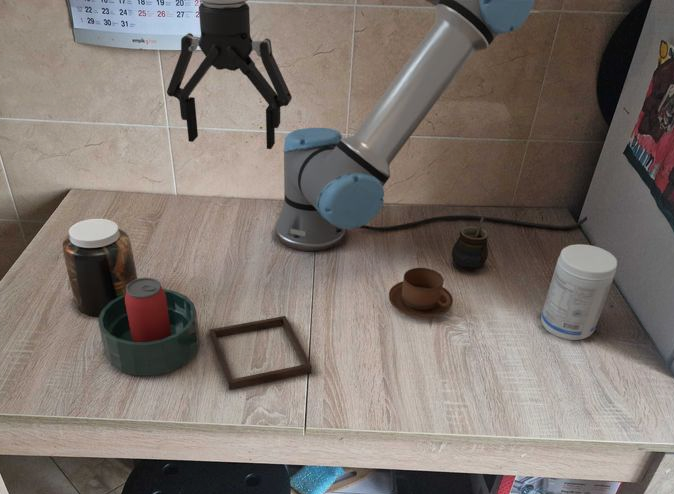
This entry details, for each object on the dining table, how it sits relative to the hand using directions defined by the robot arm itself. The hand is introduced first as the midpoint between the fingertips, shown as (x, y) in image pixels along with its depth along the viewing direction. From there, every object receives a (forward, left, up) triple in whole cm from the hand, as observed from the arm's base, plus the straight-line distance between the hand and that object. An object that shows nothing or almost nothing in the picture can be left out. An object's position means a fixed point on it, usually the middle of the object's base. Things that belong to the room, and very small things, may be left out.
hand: (231, 142), depth 110 cm
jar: (+25, -2, -29) cm, 38 cm away
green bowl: (+19, +15, -29) cm, 38 cm away
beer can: (+19, +15, -28) cm, 37 cm away
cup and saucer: (-31, +17, -29) cm, 46 cm away
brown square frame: (+2, +22, -29) cm, 36 cm away
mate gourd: (-47, +7, -29) cm, 56 cm away
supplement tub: (-54, +31, -29) cm, 69 cm away
